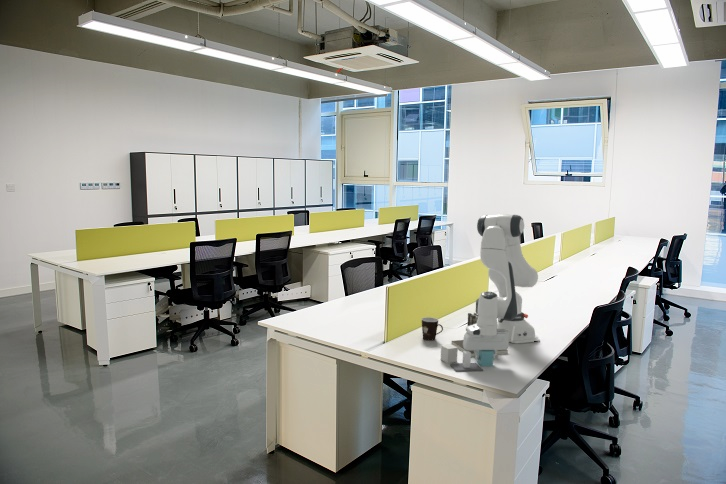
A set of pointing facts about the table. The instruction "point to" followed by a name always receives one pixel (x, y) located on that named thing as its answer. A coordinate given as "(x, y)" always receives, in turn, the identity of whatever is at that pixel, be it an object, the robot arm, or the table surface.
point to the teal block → (485, 357)
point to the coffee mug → (430, 328)
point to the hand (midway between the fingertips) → (484, 359)
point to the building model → (459, 343)
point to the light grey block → (449, 353)
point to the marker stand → (466, 364)
